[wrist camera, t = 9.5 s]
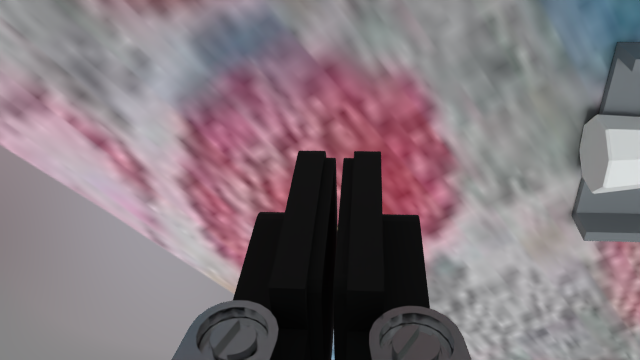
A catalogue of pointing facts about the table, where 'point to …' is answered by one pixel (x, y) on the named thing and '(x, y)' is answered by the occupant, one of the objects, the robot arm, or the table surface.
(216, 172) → the table surface
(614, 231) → the tray
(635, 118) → the pepper shaker
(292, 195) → the robot arm
